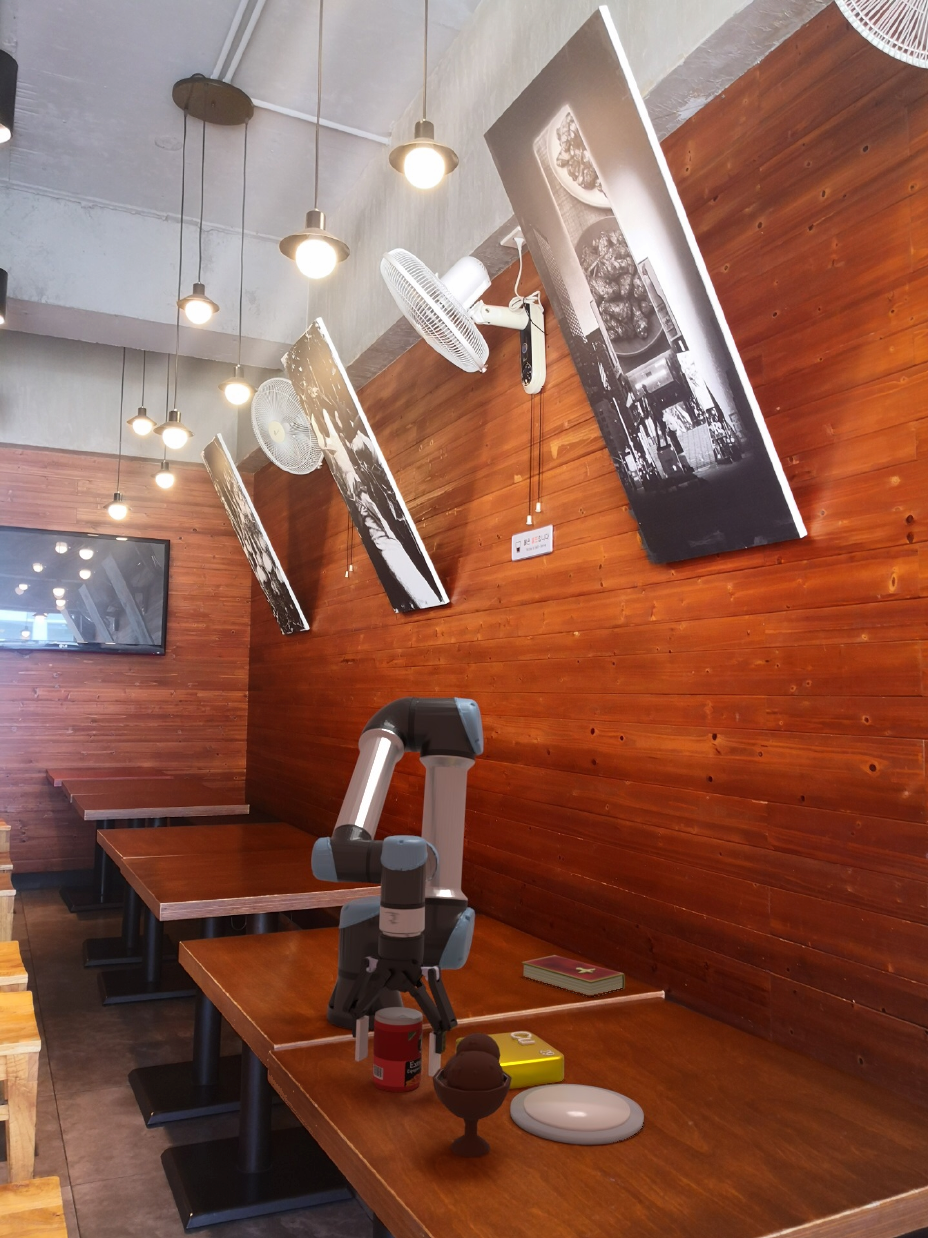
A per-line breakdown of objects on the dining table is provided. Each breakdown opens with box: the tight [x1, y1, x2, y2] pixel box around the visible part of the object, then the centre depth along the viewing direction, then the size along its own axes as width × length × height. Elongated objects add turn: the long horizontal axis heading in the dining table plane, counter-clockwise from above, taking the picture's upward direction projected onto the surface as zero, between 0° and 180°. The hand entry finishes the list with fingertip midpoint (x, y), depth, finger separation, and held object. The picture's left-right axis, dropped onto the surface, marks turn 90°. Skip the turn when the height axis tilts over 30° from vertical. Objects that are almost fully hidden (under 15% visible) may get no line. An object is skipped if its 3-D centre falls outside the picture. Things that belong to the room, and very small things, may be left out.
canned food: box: [372, 1006, 424, 1093], centre depth 156 cm, size 8×8×11 cm
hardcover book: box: [521, 954, 626, 995], centre depth 220 cm, size 12×21×4 cm, turn 42°
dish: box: [510, 1083, 645, 1146], centre depth 145 cm, size 20×20×2 cm
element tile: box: [455, 1030, 565, 1090], centre depth 163 cm, size 15×15×5 cm
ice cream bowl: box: [431, 1032, 512, 1158], centre depth 134 cm, size 11×11×15 cm
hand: (397, 1066), depth 156 cm, fingers open, 13 cm apart
